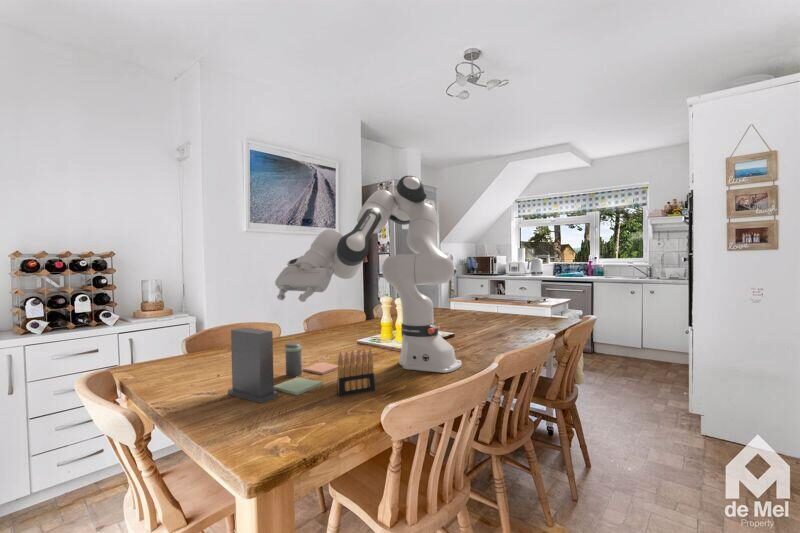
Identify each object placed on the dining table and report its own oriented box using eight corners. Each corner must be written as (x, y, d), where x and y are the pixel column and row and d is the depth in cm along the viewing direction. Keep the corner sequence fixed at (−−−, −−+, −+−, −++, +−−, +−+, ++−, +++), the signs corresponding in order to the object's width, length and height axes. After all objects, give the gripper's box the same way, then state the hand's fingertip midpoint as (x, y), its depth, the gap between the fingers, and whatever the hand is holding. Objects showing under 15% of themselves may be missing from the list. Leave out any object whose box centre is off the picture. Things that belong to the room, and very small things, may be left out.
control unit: (278, 396, 108) (277, 331, 107) (260, 403, 102) (259, 335, 102) (246, 387, 115) (244, 326, 114) (227, 394, 110) (226, 330, 109)
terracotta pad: (340, 367, 134) (340, 365, 134) (322, 374, 126) (322, 372, 126) (321, 364, 139) (321, 362, 139) (302, 370, 131) (302, 368, 131)
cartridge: (305, 373, 128) (304, 343, 128) (293, 378, 123) (292, 347, 123) (294, 371, 131) (293, 342, 130) (282, 375, 126) (281, 345, 126)
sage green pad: (321, 384, 117) (321, 382, 117) (297, 395, 108) (296, 392, 108) (298, 379, 122) (297, 377, 122) (272, 389, 113) (272, 386, 113)
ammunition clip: (338, 396, 107) (337, 353, 106) (336, 394, 108) (336, 352, 108) (375, 390, 111) (374, 349, 111) (372, 388, 113) (372, 347, 113)
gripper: (340, 273, 125) (320, 307, 117) (295, 273, 135) (273, 304, 127) (331, 260, 121) (309, 294, 113) (285, 260, 132) (262, 291, 123)
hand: (290, 299), depth 120 cm, fingers open, 8 cm apart
